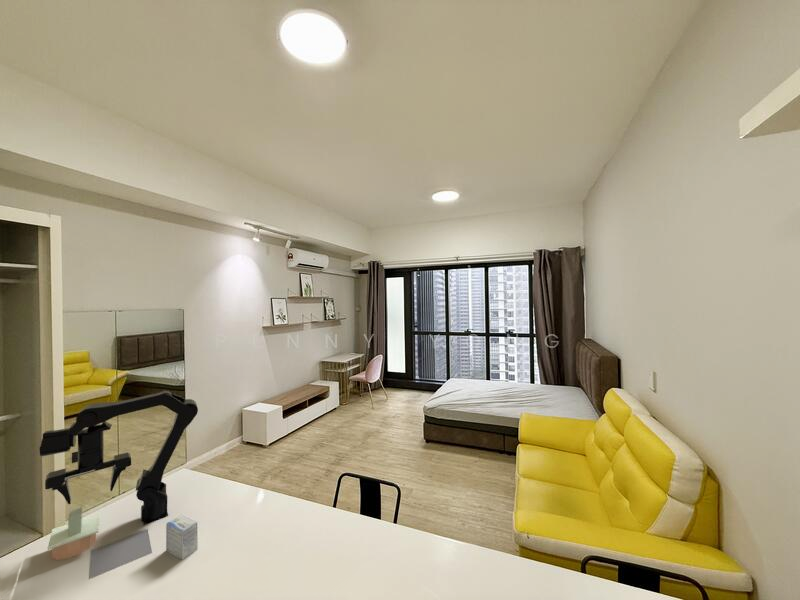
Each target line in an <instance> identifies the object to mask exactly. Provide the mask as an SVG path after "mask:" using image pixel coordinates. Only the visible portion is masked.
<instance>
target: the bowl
mask: <svg viewBox="0 0 800 600" xmlns="http://www.w3.org/2000/svg"><path fill="white" fill-rule="evenodd" d="M96 542H97V533H95V534H93V535H90V536H87V537H84V538H81V539H78V540H75V541H73V542H70V543H67V544H64V545H61V546H58V547H55V548H53V549H51V558H52V559H53V560H57V561H59V560H65V559H66V560H67V559H69V558H70V559H71V558H73V557H75V556H77V555H80V554H82V553H83V552H86V550H89V549H90V548H91V547H92V546H93V545H94V544H96Z"/></svg>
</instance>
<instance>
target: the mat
mask: <svg viewBox="0 0 800 600" xmlns="http://www.w3.org/2000/svg"><path fill="white" fill-rule="evenodd" d="M150 554H153V550H152V546H151V539H150V534H149V529H148V528H147V529H144V530H142V531H139V532H136V533H134V534H131V535H129V536H125V537H123V538H121V539H118V540H115V541H112V542H109V543H106V544H104V545H102V546H99V547H97V548H94V549H91V550H90V559H89V576H88V577H89V578H88V580H90V579H94V578H95V577H99V576H100V575H103V574H104V573H107V572H110V571H112V570H115V569H117V568H120V567H122V566H124V565H127V564H129V563H132V562H133V561H136V560H139V559H141V558H143V557H146V556H147V555H148V556H149V555H150Z"/></svg>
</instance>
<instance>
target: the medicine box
mask: <svg viewBox="0 0 800 600" xmlns="http://www.w3.org/2000/svg"><path fill="white" fill-rule="evenodd" d="M165 527H166V528H165V529H166V530H165V531H166V532H165V534H166V535H165V537H166V542H165V543H166V545H165V550H166V552H167V553H169V554H171V555H174V556H175V557H177V558H179V559H180V560H185V559H186V558H188V557H189V556H191V555H192V554H194V553H195V552H196V551H197V550H198V545H199V544H198V543H199V542H198V539H199V538H198V536H199V535H198V530H199V529H198V528H199V527H198V521H196V520H194V519H192V518H190V517H188V516H186V515H183V514H180V515H178V516H176V517H174V518H173V519H171V520H169V521H168V522H167V523H166V525H165Z"/></svg>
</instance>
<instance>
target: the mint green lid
mask: <svg viewBox="0 0 800 600" xmlns="http://www.w3.org/2000/svg"><path fill="white" fill-rule="evenodd" d="M68 514H69V515H68V517H67V518H68V519H67V520H68V522H67V524H64V525H61V526H58V527H55V528H52V529H51V534H50V538H49V541H48V546H47V551H49V550H52V549H53V548H55V547H58V546H61V545H64V544H67V543H70V542H73V541H75V540H78V539H81V538H84V537H87V536H90V535H93V534H95V533H96V534H98V533H99V523H100V521H99V520H100V514H99V513H98V514H95V515H92V516H89V517H88V516H87V517H86V518H83V506H81V507H78V508H75V509H71V510H69V513H68ZM82 519H83V520H82Z"/></svg>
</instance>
